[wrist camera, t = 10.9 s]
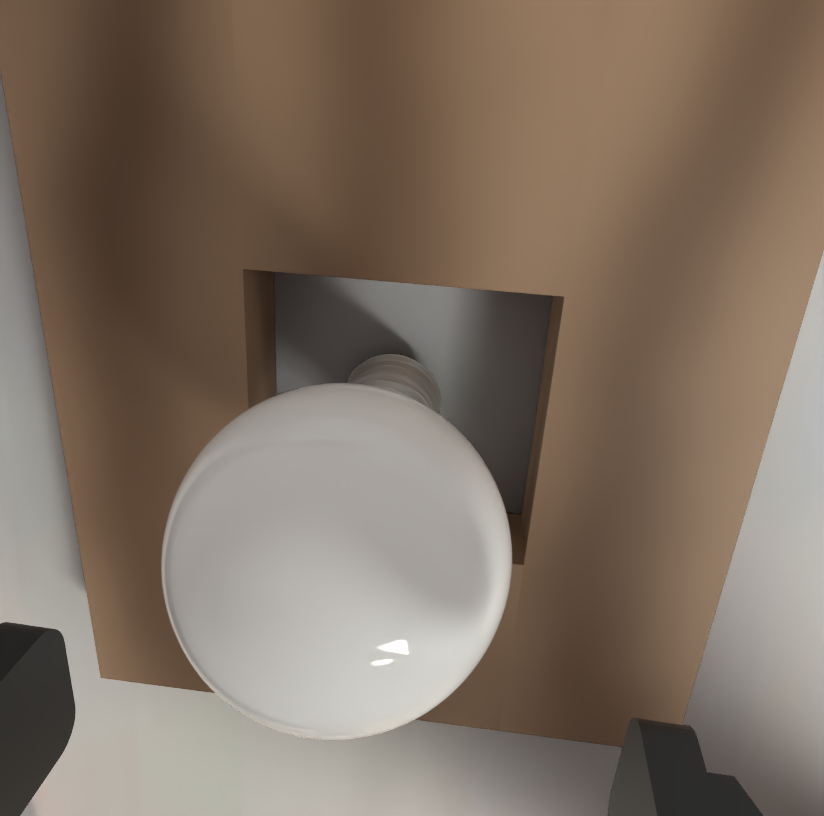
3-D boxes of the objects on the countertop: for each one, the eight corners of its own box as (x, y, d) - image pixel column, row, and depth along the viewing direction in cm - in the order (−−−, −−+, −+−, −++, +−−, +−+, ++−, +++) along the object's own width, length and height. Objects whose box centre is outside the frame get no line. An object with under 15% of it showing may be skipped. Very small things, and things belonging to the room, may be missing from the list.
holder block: (842, 6, 16) (900, -6, 13) (657, 690, 24) (673, 753, 22) (48, -38, 17) (-21, -55, 15) (136, 624, 25) (101, 677, 23)
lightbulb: (365, 232, 19) (215, 403, 9) (555, 372, 20) (609, 667, 10) (247, 406, 21) (26, 692, 11) (420, 523, 22) (356, 879, 12)
